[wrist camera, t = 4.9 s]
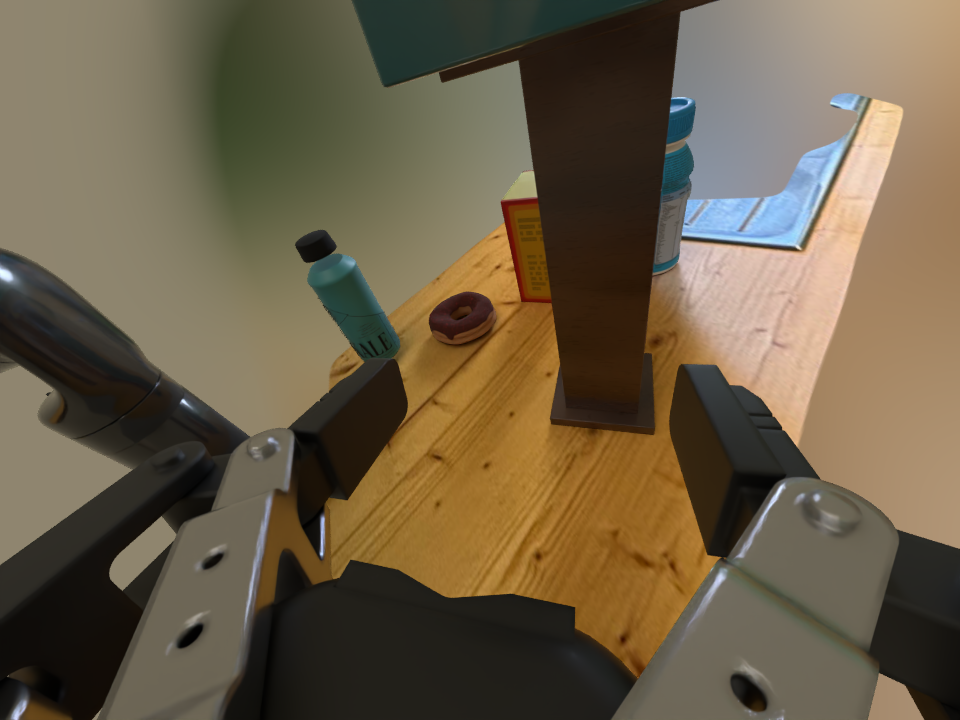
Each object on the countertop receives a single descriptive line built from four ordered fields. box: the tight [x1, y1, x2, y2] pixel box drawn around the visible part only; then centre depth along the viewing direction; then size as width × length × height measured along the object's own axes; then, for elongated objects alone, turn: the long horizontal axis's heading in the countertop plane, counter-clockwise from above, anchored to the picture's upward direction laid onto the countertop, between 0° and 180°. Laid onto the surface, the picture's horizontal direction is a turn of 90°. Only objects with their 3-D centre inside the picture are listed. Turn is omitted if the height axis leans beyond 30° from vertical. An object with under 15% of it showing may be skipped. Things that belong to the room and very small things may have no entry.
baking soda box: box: [501, 170, 552, 303], centre depth 50 cm, size 10×6×16 cm
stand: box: [439, 0, 718, 435], centre depth 27 cm, size 16×10×32 cm, turn 163°
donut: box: [429, 292, 496, 344], centre depth 52 cm, size 10×10×4 cm
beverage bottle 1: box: [295, 230, 400, 362], centre depth 46 cm, size 6×7×20 cm
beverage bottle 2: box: [653, 98, 696, 275], centre depth 46 cm, size 8×8×20 cm
